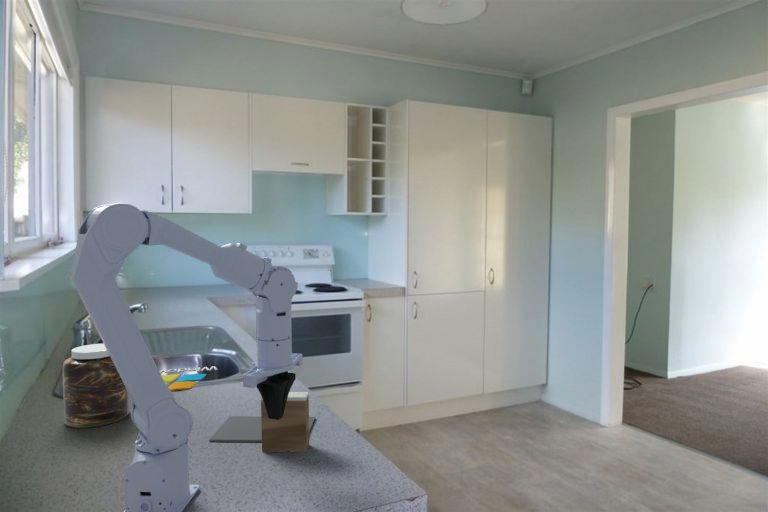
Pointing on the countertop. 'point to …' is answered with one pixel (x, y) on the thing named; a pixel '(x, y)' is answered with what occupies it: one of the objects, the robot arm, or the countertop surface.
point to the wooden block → (287, 425)
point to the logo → (183, 378)
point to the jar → (93, 388)
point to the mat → (242, 429)
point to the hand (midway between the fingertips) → (275, 417)
